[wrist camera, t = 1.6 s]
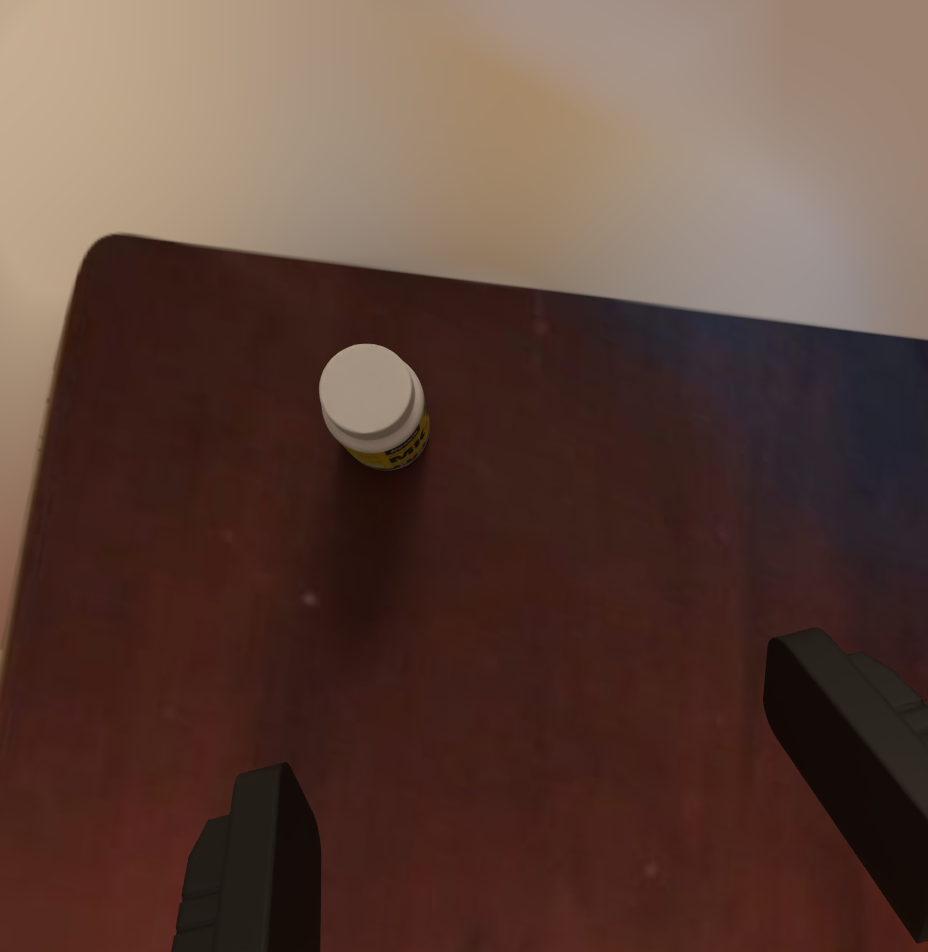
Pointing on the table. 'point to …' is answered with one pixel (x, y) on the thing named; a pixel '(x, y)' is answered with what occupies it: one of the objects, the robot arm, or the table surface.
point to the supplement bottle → (375, 406)
